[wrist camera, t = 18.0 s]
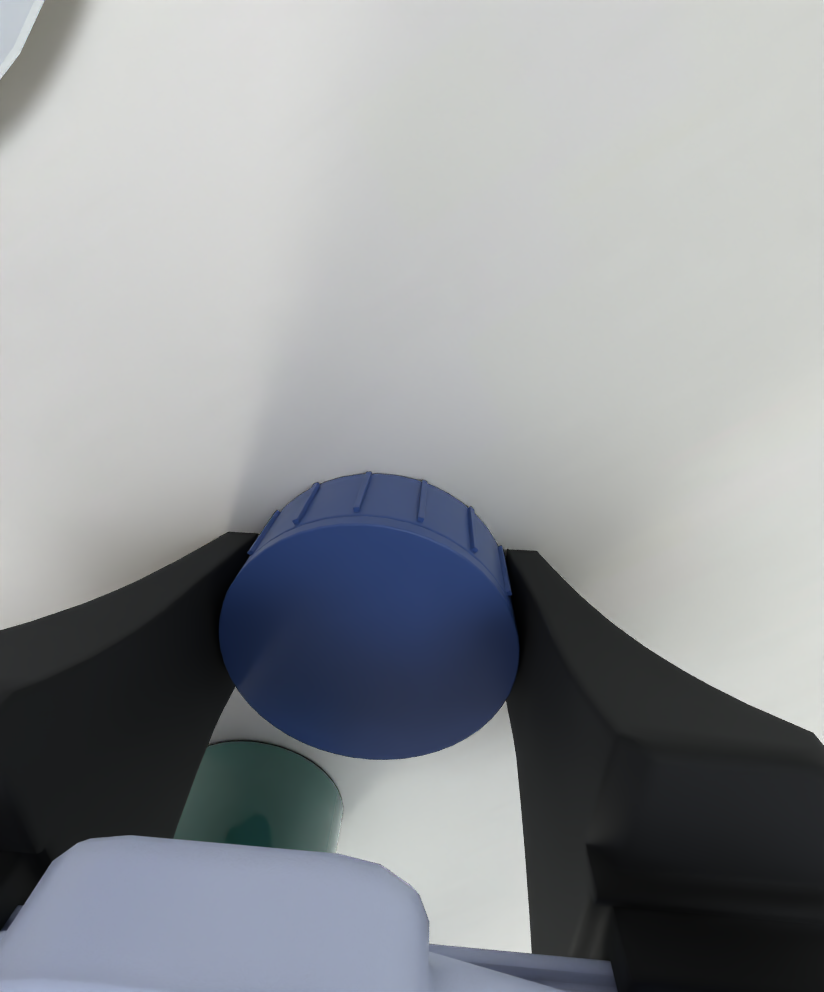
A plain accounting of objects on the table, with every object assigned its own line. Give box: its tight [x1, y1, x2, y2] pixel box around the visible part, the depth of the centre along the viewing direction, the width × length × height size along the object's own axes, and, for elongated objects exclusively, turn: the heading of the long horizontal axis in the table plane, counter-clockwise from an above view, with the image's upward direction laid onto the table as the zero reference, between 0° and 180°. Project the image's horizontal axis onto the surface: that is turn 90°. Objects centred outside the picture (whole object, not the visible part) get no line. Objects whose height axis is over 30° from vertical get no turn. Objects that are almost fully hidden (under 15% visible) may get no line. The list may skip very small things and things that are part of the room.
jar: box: [173, 741, 343, 853], centre depth 11 cm, size 5×5×8 cm
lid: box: [219, 472, 520, 760], centre depth 10 cm, size 6×6×2 cm
